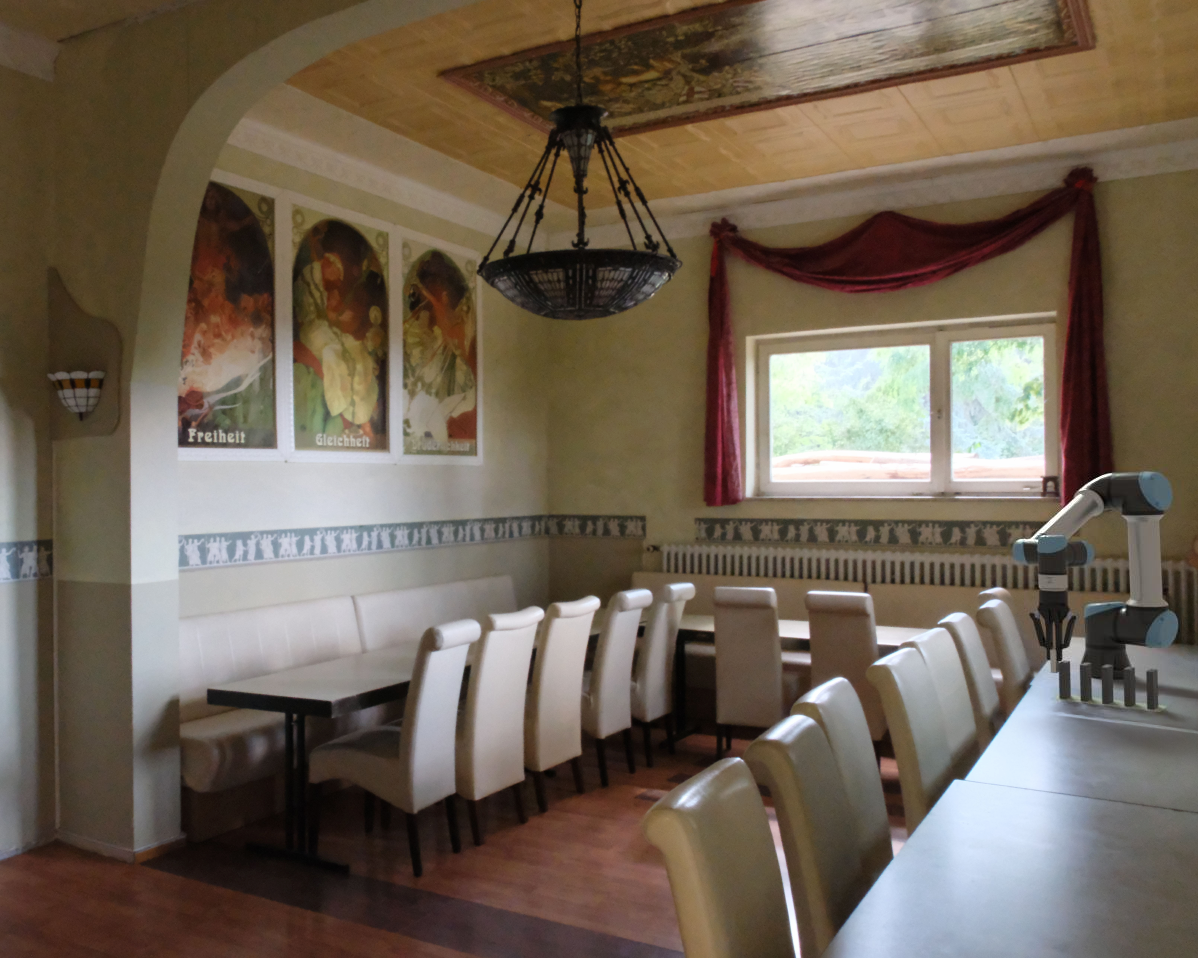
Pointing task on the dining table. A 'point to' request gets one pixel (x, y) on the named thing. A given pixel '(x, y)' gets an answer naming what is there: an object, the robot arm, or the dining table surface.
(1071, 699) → the strip
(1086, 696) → the domino
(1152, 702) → the domino
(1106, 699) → the domino
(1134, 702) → the domino
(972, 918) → the dining table surface
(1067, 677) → the domino
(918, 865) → the dining table surface
